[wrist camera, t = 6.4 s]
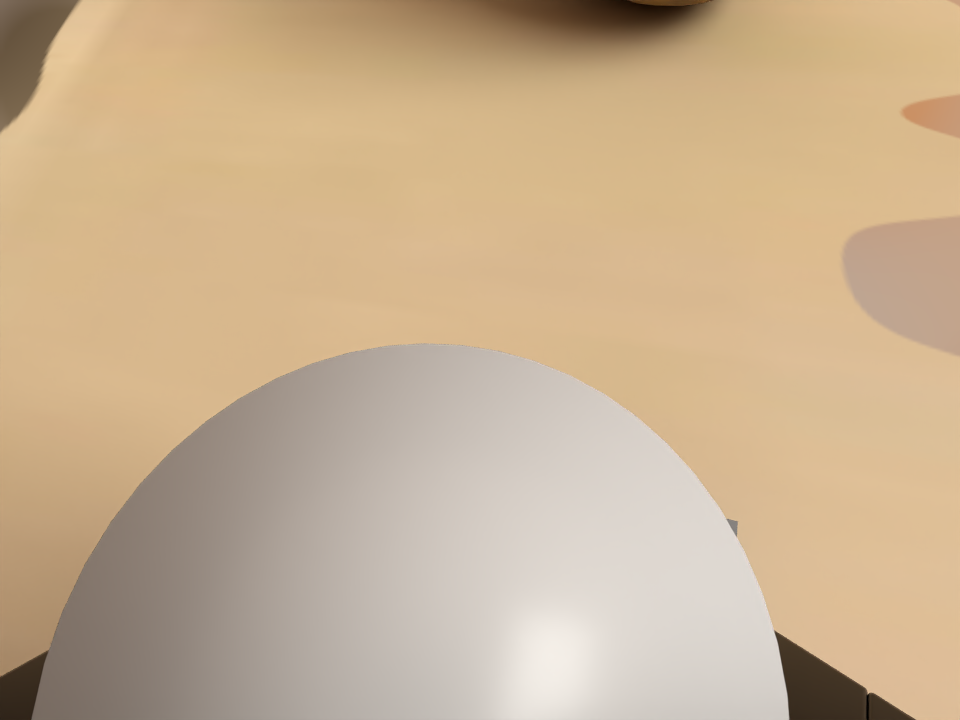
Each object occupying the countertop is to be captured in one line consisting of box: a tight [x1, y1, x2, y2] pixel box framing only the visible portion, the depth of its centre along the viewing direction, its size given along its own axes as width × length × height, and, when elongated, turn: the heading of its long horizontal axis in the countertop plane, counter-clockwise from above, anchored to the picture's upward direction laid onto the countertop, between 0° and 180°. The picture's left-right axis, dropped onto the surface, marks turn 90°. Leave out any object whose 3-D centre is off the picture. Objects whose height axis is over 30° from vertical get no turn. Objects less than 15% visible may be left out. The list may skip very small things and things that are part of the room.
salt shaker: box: [31, 343, 789, 720], centre depth 9 cm, size 5×5×11 cm
